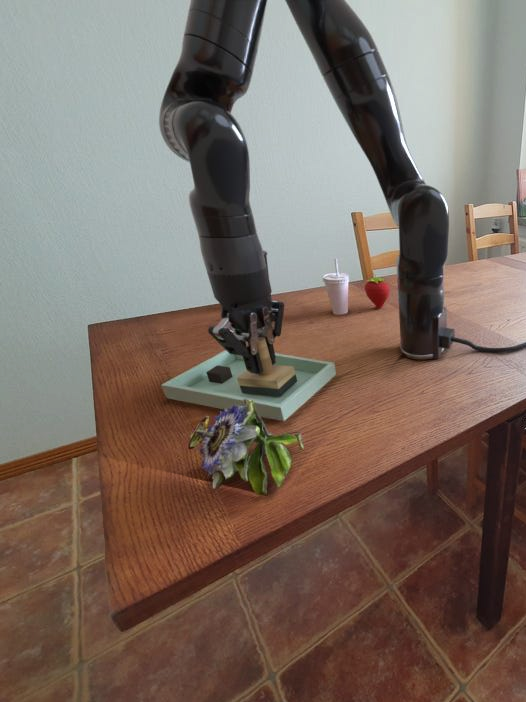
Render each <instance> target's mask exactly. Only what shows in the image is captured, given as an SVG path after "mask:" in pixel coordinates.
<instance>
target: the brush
mask: <svg viewBox="0 0 526 702" xmlns="http://www.w3.org/2000/svg"><path fill="white" fill-rule="evenodd" d="M256 343H257V350H258V351H257V353H259V356H260V360H261V364H262V368H263V372H262V373H260V374H254V373H250V372H249V371H246V372H244V373H243V374H242V375H240V376H239V377H237V380H238V383H239V385H240V389H241V392H242V393H247V394H258V395H269V396H280V397H281V396H282V395H283V394H284V393H285V392H286V391H287V390H288V389H289V388H291V387H292V386H293V385H294V384H295V383H296V382H297V378H296V373H295V369H294V367H293V366H280V365H272V361H271V358H270V354H269V351H268V347H267V343H266V340H265V338H264V337H258V339H257V340H256Z"/></svg>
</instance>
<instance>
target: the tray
mask: <svg viewBox="0 0 526 702" xmlns="http://www.w3.org/2000/svg"><path fill="white" fill-rule="evenodd" d="M275 356H276V359H275V361H276V363H275V364H274V365H280V366H293V367H294V369H295V373H296V378H297V382H296V383H295V384H294V385H293V386H292V387H291V388H289V389H288V390H287V391H286V392H285V393H284V394H283V395H282V396H281V397H280V396H269V395H258V394H247V393H242V392H241V389H240V385H239V383H238V380H237V377H239V376H240V375H242V374H243V373H244V372H246V371H247V369H246V366H245V363H244V359H243V356H240V355H234V354H229V353H228V352H227V351H226V350H225V349H224V350H223V351H221V352H220V353H218V354H216V355H214V356H212V357H210V358H208V359H207V360H204V361H203V362H201V363H199V364H197V365H195V366H193V367H191V368H189V369H187V370H186V371H184V372H182V373H180V374H179V375H177V376H174V377H173V378H171V379H169V380H167V381H166V382H164V383H162V384H160V385H161V388H162V390H163V393H164V395H165V398H166V399H170V400H175V401H181V402H185V403H190V404H194V405H201V406H205V407H210V408H215V409H219V410H220V409H221V410H224V409H227V410H229V407H231V408H233V406H234V405H239V407H241V406H243V407H244V406H246V404H245V402H244V400H243V399H247V400H251V401H252V400H253V401H254V404H255V407H256V408H257V411H258V413H259V415H260V417H261V418H265V419H270V420H271V419H272V420H276V421H281V422H285V421H286V420H287V419H288V418H290V417H291V416H292V415H293V414H294V413H295V412H296V411H297V410H298V409H299V408H301V407H302V406H303V405H304V404H305V403H306V402H308V401H309V400H310V399H311V398H312V397H313V396H314V395H315V394H316V393H318V392H319V391H320V390H321V389H322V388H323V387H324V386H326V384H328V383H329V382H331V380H332V379H333V378H334V377H335V376H336V375H337V372H336V365H335V362H333V361H332V362H331V361H325V360H319V359H314V358H308V357H307V358H306V357H300V356H295V355H289V354H282V353H277V352H275ZM216 366H224V367H230V370H231V373H232V377H231V378H230V379H228V380H227V381H225V382H224V383H222V384H221V383H214V382H209V379H208V376H207V373H206V372H207V371H209V370H211V369H212V368H214V367H216ZM252 415H255V417H257V415H256V414H255V413H254V412H253V414H252Z"/></svg>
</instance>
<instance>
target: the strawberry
mask: <svg viewBox="0 0 526 702" xmlns="http://www.w3.org/2000/svg"><path fill="white" fill-rule="evenodd" d="M372 274H373V275H374V277H371V279H367V280H365V285H364V292H365V294H366V296H367V298H368V299H369V300H370V302H371V303H372V304H373V305H374V306H375V307H376V308H377V309H381V308H383V306H384V305H385V303H386V302H387V300H388V299H389V297H390V292H391V290H390V286H389V285H388V284H387V282H385V281H386V279H384V278H383V277H379V278H378V277H376V275H375V273H374V272H372Z"/></svg>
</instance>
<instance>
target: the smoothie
mask: <svg viewBox="0 0 526 702" xmlns="http://www.w3.org/2000/svg"><path fill="white" fill-rule="evenodd" d="M333 261H334V267H335V272H329V273H325V274H324V275H323V276H322V282H323V283H324V285H325V288H326V293H327V297H328V300H329V303H330V306H331V307H330V308H331V310H332V314H333V315H335V316H343V315H346V314H348V313H349V281H350V276H349V274H348V273H344V272H339V265H338V259H337V258H334V260H333Z"/></svg>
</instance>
